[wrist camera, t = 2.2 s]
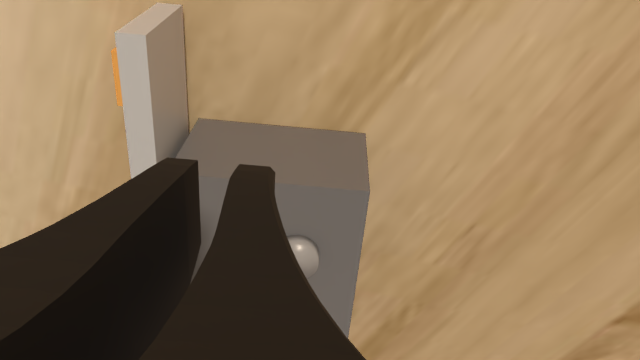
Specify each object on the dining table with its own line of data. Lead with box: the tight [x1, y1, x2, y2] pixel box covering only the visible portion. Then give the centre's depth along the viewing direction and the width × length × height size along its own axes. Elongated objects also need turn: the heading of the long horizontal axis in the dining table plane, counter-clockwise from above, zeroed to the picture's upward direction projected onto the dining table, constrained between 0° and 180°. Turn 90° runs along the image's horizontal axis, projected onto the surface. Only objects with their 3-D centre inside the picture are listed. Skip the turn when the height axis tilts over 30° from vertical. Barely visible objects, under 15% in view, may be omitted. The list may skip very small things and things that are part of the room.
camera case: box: [175, 119, 370, 338], centre depth 20 cm, size 11×6×4 cm, turn 175°
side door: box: [111, 3, 189, 179], centre depth 19 cm, size 14×1×4 cm, turn 175°
